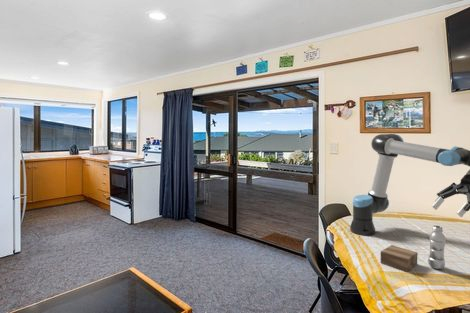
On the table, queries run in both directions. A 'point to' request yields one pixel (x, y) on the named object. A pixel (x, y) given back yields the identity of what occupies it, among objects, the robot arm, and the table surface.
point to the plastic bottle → (437, 248)
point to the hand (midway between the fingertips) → (445, 211)
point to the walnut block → (399, 258)
